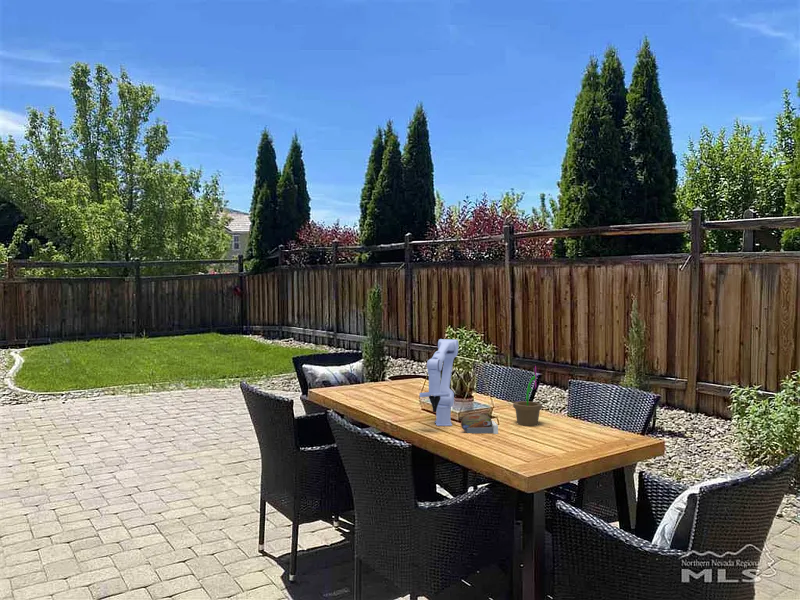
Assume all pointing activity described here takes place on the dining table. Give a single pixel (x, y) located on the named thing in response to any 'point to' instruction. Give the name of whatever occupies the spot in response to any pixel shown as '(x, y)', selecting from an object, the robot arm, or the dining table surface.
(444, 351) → the robot arm
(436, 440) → the dining table surface
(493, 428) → the bay
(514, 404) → the flowerpot
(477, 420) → the tin
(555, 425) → the dining table surface
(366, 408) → the dining table surface
